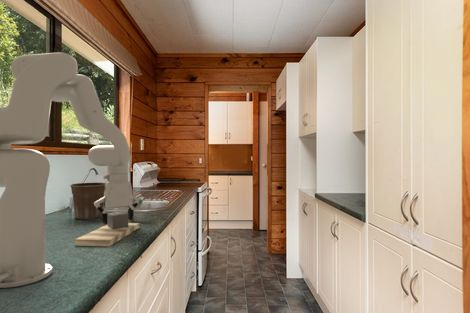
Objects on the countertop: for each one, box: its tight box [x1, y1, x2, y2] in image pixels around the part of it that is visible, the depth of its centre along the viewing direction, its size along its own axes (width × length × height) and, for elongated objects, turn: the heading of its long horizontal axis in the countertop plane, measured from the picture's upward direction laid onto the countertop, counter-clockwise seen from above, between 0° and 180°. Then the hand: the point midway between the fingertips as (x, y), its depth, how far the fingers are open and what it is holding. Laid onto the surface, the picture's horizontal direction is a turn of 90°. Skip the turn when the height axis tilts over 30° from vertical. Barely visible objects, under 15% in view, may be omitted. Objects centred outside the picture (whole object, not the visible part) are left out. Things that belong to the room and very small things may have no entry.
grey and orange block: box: [107, 211, 129, 229], centre depth 114 cm, size 6×6×5 cm
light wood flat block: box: [74, 222, 140, 247], centre depth 108 cm, size 24×12×6 cm, turn 175°
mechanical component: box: [126, 198, 143, 222], centre depth 133 cm, size 3×10×10 cm, turn 78°
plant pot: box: [69, 182, 106, 221], centre depth 141 cm, size 16×16×16 cm
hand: (118, 221), depth 114 cm, fingers open, 9 cm apart
